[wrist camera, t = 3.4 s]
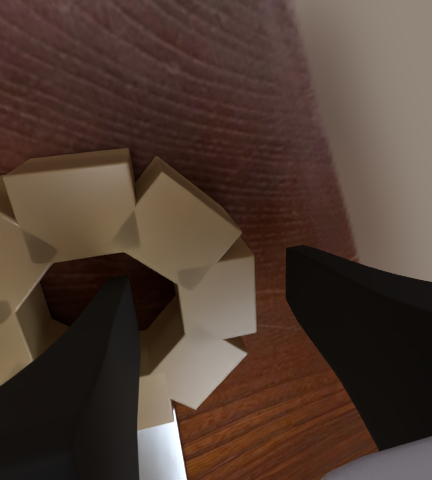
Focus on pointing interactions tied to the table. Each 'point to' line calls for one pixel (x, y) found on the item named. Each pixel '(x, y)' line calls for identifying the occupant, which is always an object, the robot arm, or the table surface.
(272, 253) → the table surface
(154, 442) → the peg stand
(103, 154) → the ring
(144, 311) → the table surface
